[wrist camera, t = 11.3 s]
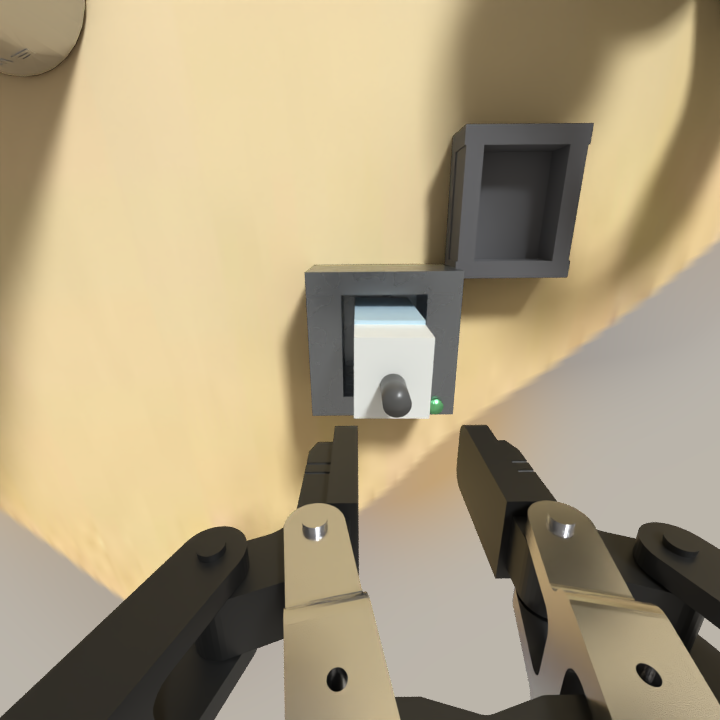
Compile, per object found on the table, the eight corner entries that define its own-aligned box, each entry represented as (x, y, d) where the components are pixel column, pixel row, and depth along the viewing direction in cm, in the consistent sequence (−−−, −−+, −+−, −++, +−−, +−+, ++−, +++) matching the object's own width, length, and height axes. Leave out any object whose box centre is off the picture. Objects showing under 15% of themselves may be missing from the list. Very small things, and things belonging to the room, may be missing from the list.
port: (314, 264, 25) (303, 272, 20) (444, 263, 26) (465, 271, 20) (320, 385, 28) (312, 417, 23) (436, 383, 28) (453, 416, 23)
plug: (355, 297, 25) (353, 346, 14) (407, 297, 25) (445, 346, 14) (354, 366, 27) (353, 456, 16) (404, 366, 27) (436, 456, 16)
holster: (452, 136, 23) (466, 122, 20) (564, 135, 23) (593, 122, 20) (443, 274, 26) (454, 279, 23) (544, 273, 26) (567, 278, 23)
